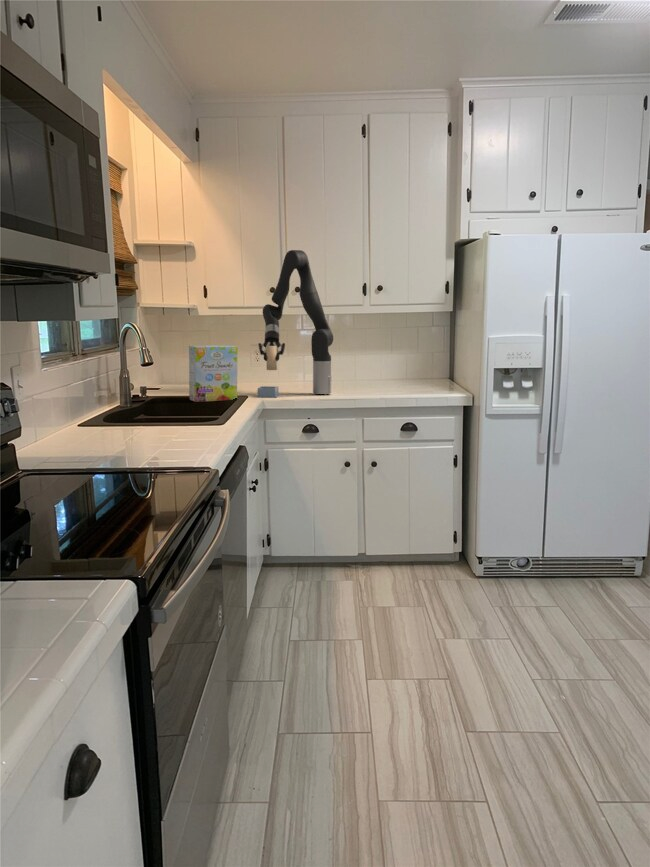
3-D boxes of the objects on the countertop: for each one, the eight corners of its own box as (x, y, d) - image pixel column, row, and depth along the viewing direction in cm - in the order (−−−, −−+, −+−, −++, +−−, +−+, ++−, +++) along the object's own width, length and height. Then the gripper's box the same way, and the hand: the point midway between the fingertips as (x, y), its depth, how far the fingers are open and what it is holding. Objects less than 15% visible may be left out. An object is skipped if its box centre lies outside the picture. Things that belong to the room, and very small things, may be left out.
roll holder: (279, 395, 314) (279, 386, 313) (276, 397, 305) (276, 388, 304) (260, 395, 315) (260, 386, 314) (256, 397, 306) (256, 388, 305)
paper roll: (277, 369, 316) (277, 345, 314) (275, 370, 311) (275, 346, 309) (267, 369, 317) (267, 345, 314) (265, 370, 311) (265, 346, 309)
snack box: (195, 402, 285) (194, 346, 280) (188, 400, 292) (187, 345, 287) (238, 399, 297) (237, 345, 292) (231, 397, 304) (230, 344, 299)
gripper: (257, 329, 317) (256, 354, 307) (285, 330, 318) (285, 354, 308) (258, 340, 323) (257, 364, 314) (286, 340, 324) (285, 364, 314)
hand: (271, 359), depth 311 cm, fingers closed on paper roll, 5 cm apart
